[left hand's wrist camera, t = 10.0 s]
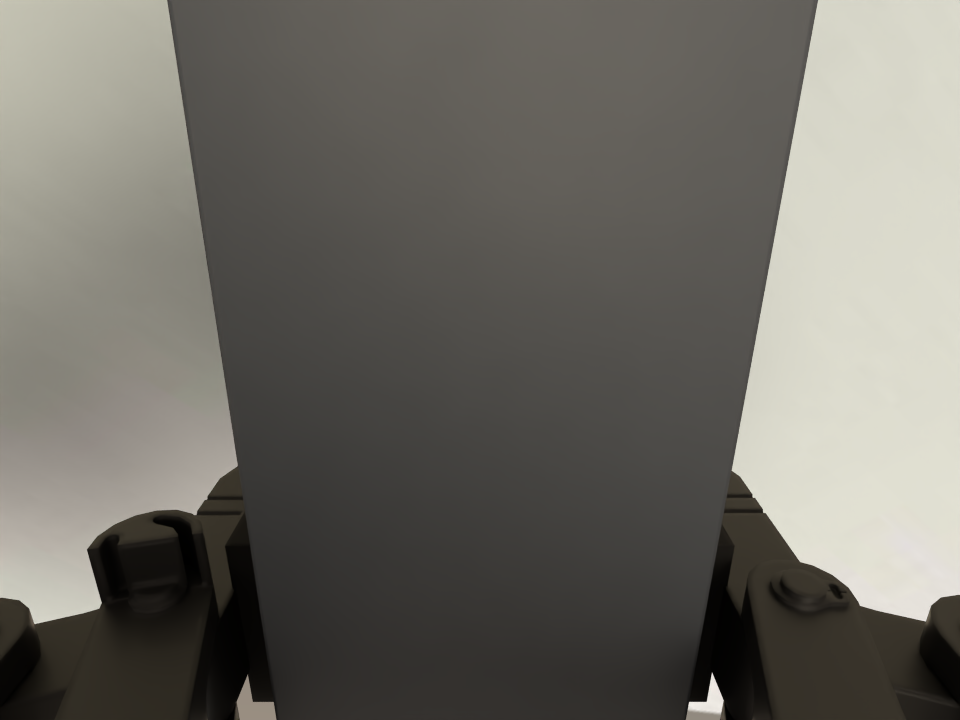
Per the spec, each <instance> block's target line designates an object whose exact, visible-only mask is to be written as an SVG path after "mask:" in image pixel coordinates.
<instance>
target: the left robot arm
mask: <svg viewBox="0 0 960 720" xmlns="http://www.w3.org/2000/svg"><path fill="white" fill-rule="evenodd" d="M87 551H88V555H89V559H90V562H91V566H92V569H93V573H94V576H95V580H96V584H97V587H98V591H99V594H100V598H101V601H102V604H101V606H100V609H97V610H94V611H90V612H87V613H83V614H79V615H74V616H70V617H65V618H61V619H56V620H52V621H47V622H43V623H38V624H34V622H33V619H32V616H31V613H30V610H29V608H28V607H27V606H25V605H24V604H23V603H22V602H21V601H19V600H13V599H6V598H0V720H240V719H239V713H238V707H237V699H238V697H239V694H240V692H241V690H242V687H243V685H244V682H245V680H246V677H247V675H248V677H249V683H250V688H251V694H252V699H253V702H274V699H273V693H272V686H271V680H270V673H269V666H268V660H267V653H266V647H265V640H264V633H263V627H262V620H261V614H260V607H259V601H258V594H257V587H256V581H255V574H254V568H253V561H252V554H251V548H250V541H249V535H248V528H247V521H246V515H245V508H244V502H243V495H242V488H241V482H240V475H239V469H238V467H236V468H235V469H233V470H232V471H230V472H229V473H227V474H226V475H225V476H223V477H222V478H220V480H219V481H218V482H217V484H216V485H215V487H214V488H213V490H212V491H211V492H210V494H209V495H208V499H207V500H205V501H204V502H203V504H202V505H201V507H200V508H199V510H198V511H197V515H193V514H191V513H187V512H183V511H179V510H162V511H153V512H149V513H145V514H140V515H136V516H133V517H131V518H129V519H126V520H124V521H122V522H119V523H117V524H115V525H113V526H112V527H110V528H109V529H108V530H106V531H105V532H103V533H102V534H100V535H99V536H97V538H96V539H95V540H94V541H93V543H92V544H91V545H90V546H89V548H88V549H87ZM712 673H713V675H714V678H715V680H716V683H717V685H718V687H719V690H720V692H721V695H722V697H723V700H724V702H723V707H722V713H721V718H720V720H960V595H955V596H949V597H942V598H940V599H939V600H938V601H936V602H935V603H934V604H933V605H932V606H931V608H930V611H929V614H928V617H927V620H926V622H925V621H920V620H916V619H911V618H907V617H902V616H898V615H893V614H889V613H884V612H880V611H876V610H872V609H869V608H865V607H862V606H860V605H859V603H858V601H857V600H856V598H855V597H854V595H853V594H852V592H851V591H850V589H849V588H848V587H847V586H845V585H844V584H843V583H842V582H840V581H839V580H838V579H837V578H835V577H834V576H833V575H831V574H829V573H827V572H825V571H823V570H821V569H819V568H817V567H815V566H812V565H809V564H805V563H801V562H800V561H799V560H798V559H797V557H796V556H795V554H794V553H793V552H792V550H791V549H790V547H789V546H788V544H787V543H786V542H785V540H784V539H783V537H782V536H781V534H780V533H779V532H778V530H777V529H776V527H775V526H774V525H773V523H772V522H771V520H770V519H769V517H768V516H767V515H766V513H763V509H762V507H761V506H760V505H759V503H758V502H757V500H756V499H755V498H753V497H752V493H751V492H750V490H749V489H748V488H747V486H746V485H745V483H744V482H743V480H742V479H741V478H740V476H738V475H737V474H735V473H734V472H732V471H731V476H730V481H729V487H728V492H727V498H726V503H725V509H724V514H723V519H722V525H721V530H720V536H719V541H718V547H717V552H716V558H715V563H714V568H713V574H712V579H711V585H710V590H709V596H708V601H707V607H706V612H705V617H704V623H703V628H702V634H701V639H700V645H699V650H698V656H697V661H696V666H695V672H694V677H693V683H692V688H691V694H690V699H689V702H707V697H708V691H709V686H710V680H711V674H712Z"/></svg>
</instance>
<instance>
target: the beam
mask: <svg viewBox="0 0 960 720" xmlns="http://www.w3.org/2000/svg"><path fill="white" fill-rule="evenodd" d="M167 1H168V7H169V14H170V21H171V27H172V34H173V40H174V47H175V54H176V60H177V67H178V73H179V80H180V86H181V93H182V100H183V106H184V113H185V119H186V126H187V133H188V139H189V146H190V152H191V159H192V166H193V172H194V179H195V185H196V192H197V199H198V205H199V212H200V218H201V225H202V231H203V238H204V245H205V251H206V258H207V264H208V271H209V278H210V284H211V291H212V297H213V304H214V311H215V317H216V324H217V330H218V337H219V343H220V350H221V357H222V363H223V370H224V376H225V383H226V390H227V396H228V403H229V409H230V416H231V423H232V429H233V436H234V442H235V449H236V456H237V462H238V469H239V475H240V482H241V488H242V495H243V502H244V508H245V515H246V521H247V528H248V535H249V541H250V548H251V554H252V561H253V568H254V574H255V581H256V587H257V594H258V601H259V607H260V614H261V620H262V627H263V633H264V640H265V647H266V653H267V660H268V666H269V673H270V680H271V686H272V693H273V699H274V706H275V713H276V719H277V720H686V715H687V710H688V704H689V699H690V694H691V688H692V683H693V677H694V672H695V666H696V661H697V656H698V650H699V645H700V639H701V634H702V628H703V623H704V617H705V612H706V607H707V601H708V596H709V590H710V585H711V579H712V574H713V568H714V563H715V558H716V552H717V547H718V541H719V536H720V530H721V525H722V519H723V514H724V509H725V503H726V498H727V492H728V487H729V481H730V476H731V470H732V465H733V460H734V454H735V449H736V443H737V438H738V432H739V427H740V421H741V416H742V411H743V405H744V400H745V394H746V389H747V383H748V378H749V372H750V367H751V362H752V356H753V351H754V345H755V340H756V334H757V329H758V324H759V318H760V313H761V307H762V302H763V296H764V291H765V285H766V280H767V275H768V269H769V264H770V258H771V253H772V247H773V242H774V236H775V231H776V226H777V220H778V215H779V209H780V204H781V198H782V193H783V187H784V182H785V177H786V171H787V166H788V160H789V155H790V149H791V144H792V138H793V133H794V128H795V122H796V117H797V111H798V106H799V100H800V95H801V89H802V84H803V79H804V73H805V68H806V62H807V57H808V51H809V46H810V40H811V35H812V30H813V24H814V19H815V13H816V8H817V2H818V0H167Z"/></svg>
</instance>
